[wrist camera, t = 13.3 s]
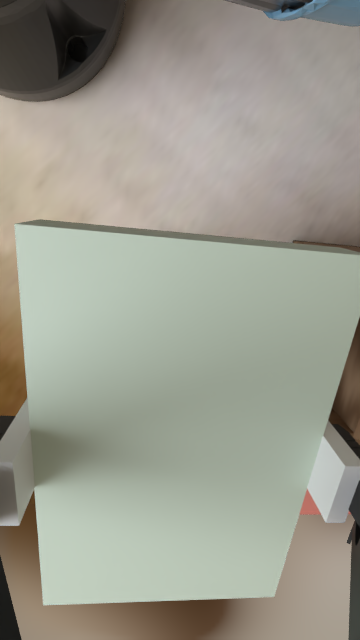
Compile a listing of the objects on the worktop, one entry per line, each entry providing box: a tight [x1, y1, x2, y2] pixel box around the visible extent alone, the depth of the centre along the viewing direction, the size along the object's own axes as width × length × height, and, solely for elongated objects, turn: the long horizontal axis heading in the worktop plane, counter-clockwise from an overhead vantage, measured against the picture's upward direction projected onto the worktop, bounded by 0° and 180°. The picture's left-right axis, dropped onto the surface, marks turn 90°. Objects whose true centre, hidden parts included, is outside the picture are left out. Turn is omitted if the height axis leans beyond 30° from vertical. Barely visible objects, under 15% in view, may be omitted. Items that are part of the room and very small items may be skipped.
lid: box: [15, 220, 360, 605], centre depth 13 cm, size 17×11×2 cm, turn 174°
